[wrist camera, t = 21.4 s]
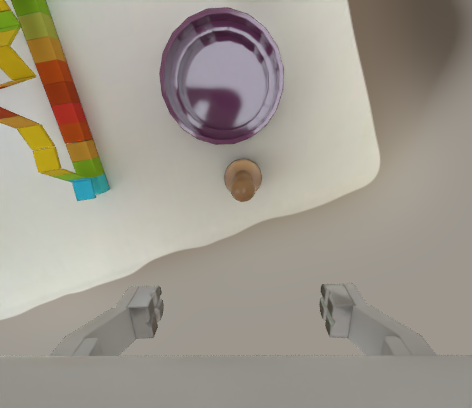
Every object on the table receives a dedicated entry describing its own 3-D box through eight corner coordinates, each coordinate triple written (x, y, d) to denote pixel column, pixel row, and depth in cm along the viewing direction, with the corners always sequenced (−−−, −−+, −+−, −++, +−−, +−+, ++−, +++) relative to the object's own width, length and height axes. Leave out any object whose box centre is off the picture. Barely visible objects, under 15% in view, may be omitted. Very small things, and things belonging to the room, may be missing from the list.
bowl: (178, 141, 37) (168, 146, 32) (166, 27, 33) (151, 11, 27) (276, 137, 37) (281, 142, 32) (278, 21, 32) (285, 4, 27)
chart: (-1, -54, 30) (-214, -198, 16) (25, -60, 30) (-170, -212, 16) (90, 192, 40) (7, 236, 26) (109, 189, 40) (37, 232, 26)
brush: (224, 157, 38) (219, 171, 29) (260, 156, 38) (265, 170, 29) (226, 191, 40) (221, 214, 31) (260, 190, 39) (265, 213, 31)
